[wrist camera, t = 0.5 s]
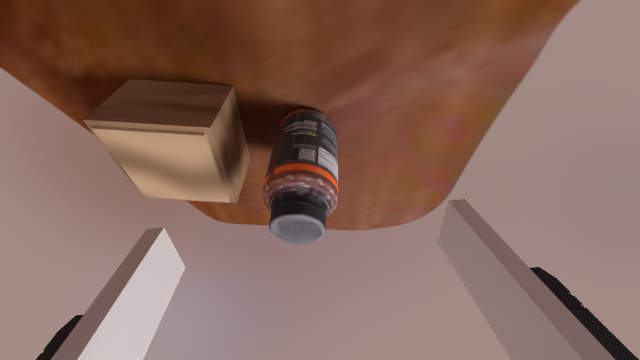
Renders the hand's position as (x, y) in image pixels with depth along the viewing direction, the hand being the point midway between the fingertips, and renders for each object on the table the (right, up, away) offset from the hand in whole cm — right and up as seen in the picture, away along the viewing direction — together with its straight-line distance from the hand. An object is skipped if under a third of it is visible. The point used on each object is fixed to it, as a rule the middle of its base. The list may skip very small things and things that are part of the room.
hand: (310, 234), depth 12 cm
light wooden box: (-12, +8, +13) cm, 19 cm away
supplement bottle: (-1, +8, +13) cm, 15 cm away
